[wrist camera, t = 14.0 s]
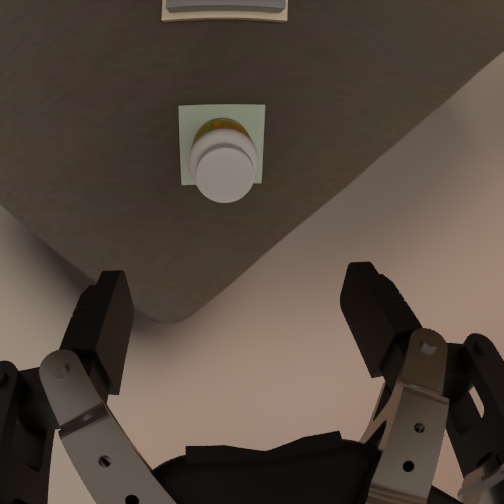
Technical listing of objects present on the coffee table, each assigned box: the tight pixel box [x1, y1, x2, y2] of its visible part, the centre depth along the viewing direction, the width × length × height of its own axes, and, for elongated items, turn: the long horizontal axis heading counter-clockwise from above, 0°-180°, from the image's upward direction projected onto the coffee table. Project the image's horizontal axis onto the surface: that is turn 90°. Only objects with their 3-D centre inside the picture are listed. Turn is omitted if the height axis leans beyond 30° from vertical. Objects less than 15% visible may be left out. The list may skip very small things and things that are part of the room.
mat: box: [179, 104, 265, 185], centre depth 29 cm, size 8×8×1 cm
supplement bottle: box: [188, 118, 259, 203], centre depth 24 cm, size 5×5×10 cm
